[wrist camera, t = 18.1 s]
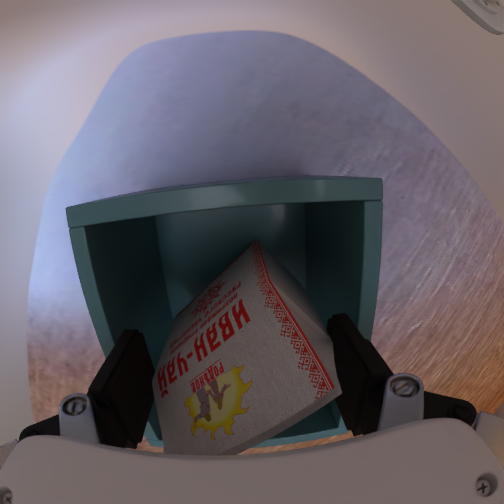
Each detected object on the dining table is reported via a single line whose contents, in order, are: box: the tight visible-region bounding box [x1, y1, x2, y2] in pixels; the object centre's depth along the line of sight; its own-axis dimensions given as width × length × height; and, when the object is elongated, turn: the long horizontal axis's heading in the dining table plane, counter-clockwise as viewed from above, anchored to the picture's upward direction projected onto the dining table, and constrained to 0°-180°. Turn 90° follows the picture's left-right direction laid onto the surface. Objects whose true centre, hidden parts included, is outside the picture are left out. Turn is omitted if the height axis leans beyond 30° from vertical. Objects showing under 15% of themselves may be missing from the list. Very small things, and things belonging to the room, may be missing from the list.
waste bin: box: [66, 176, 383, 448], centre depth 15 cm, size 14×12×10 cm
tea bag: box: [152, 239, 342, 456], centre depth 11 cm, size 4×7×10 cm, turn 134°
